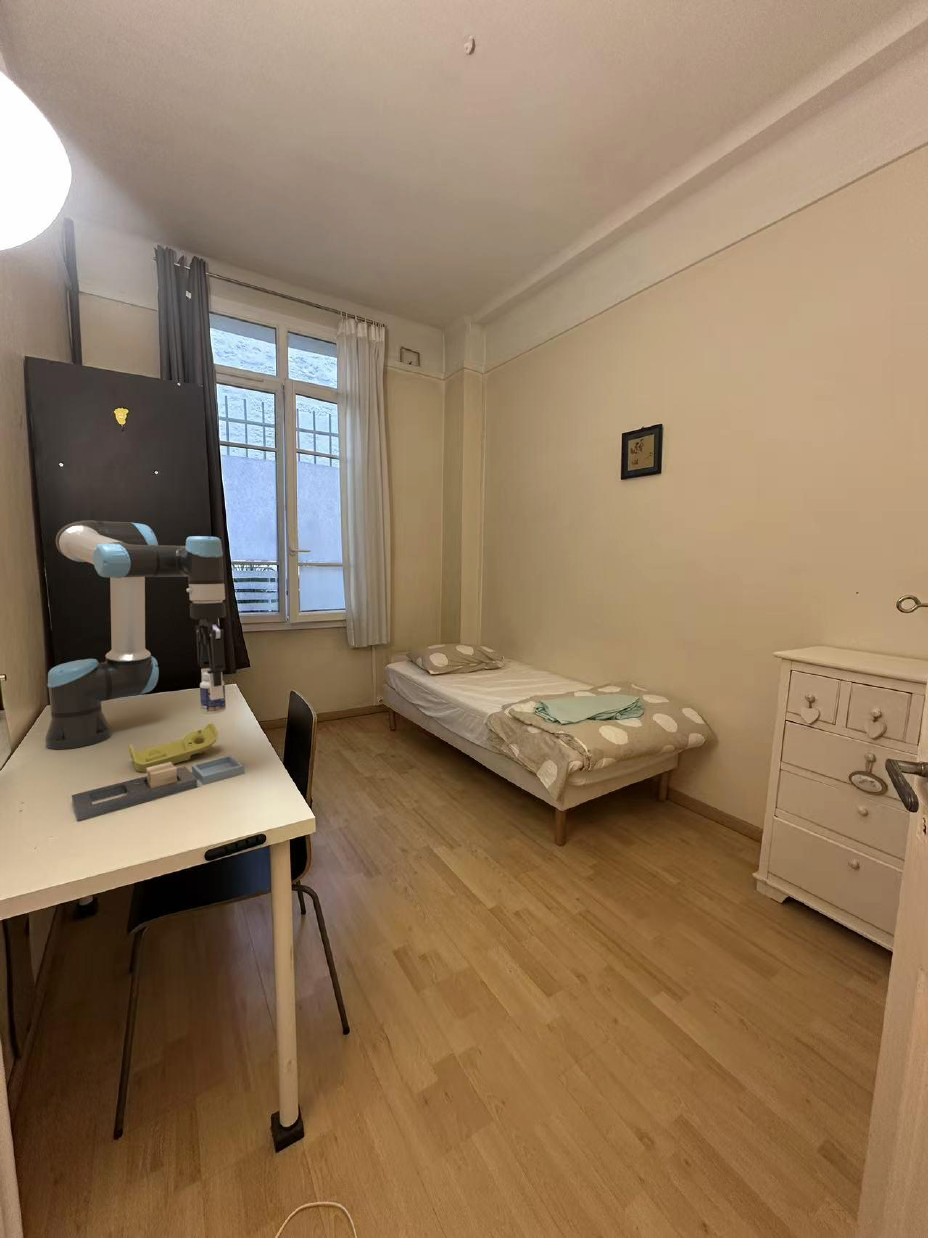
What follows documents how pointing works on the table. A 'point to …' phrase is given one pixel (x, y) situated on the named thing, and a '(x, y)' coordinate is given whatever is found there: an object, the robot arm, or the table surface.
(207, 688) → the pill bottle
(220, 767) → the tray
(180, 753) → the plastic component
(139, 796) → the rail
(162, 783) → the beech block
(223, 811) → the table surface
